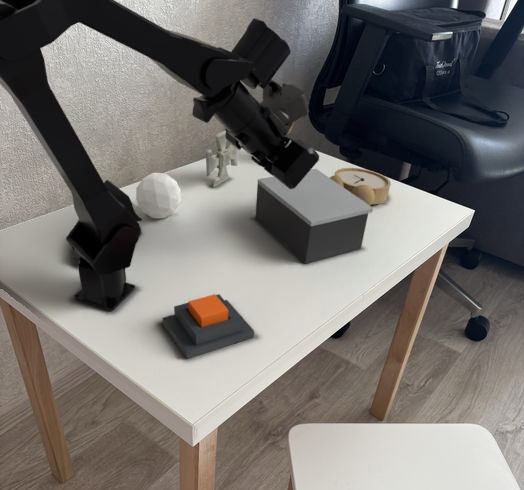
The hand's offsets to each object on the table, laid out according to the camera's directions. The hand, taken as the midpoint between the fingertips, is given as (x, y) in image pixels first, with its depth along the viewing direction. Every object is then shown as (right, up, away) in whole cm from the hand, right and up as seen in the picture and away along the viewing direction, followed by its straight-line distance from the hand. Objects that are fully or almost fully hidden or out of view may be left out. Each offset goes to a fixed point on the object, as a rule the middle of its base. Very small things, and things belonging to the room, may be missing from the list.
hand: (297, 177), depth 92 cm
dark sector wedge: (-33, -10, +2) cm, 34 cm away
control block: (-13, -25, -14) cm, 32 cm away
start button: (-13, -23, -16) cm, 31 cm away
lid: (+3, -2, +4) cm, 6 cm away
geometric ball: (-24, -4, +10) cm, 27 cm away
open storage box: (+2, -7, +9) cm, 12 cm away
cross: (-14, +6, +22) cm, 27 cm away
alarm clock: (+13, +2, +21) cm, 25 cm away
